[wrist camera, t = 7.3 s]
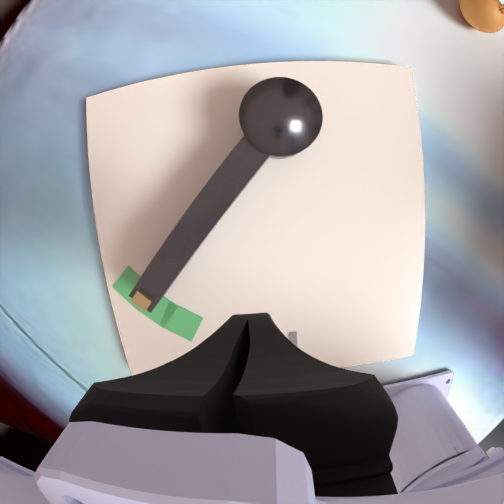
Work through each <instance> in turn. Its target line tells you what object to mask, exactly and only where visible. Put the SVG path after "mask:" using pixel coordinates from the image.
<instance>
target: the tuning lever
mask: <svg viewBox="0 0 504 504" xmlns="http://www.w3.org/2000/svg"><path fill="white" fill-rule="evenodd" d="M322 121H323V114H322V108H321V105H320V102H319V100H318V98H317V97H316V95H315V94H314V93H313V92H312V90H311V89H310V88H308V87H307V86H306V85H304V84H303V83H301V82H299V81H297V80H294V79H291V78H287V77H272V78H268V79H265V80H262V81H260V82H258V83H256V84H255V85H254V86H252V87H251V88H250V89H249V90H248V91H247V93H246V94H245V95H244V97H243V99H242V101H241V104H240V108H239V122H240V126H241V129H242V131H243V134H244V136H243V137H242V138H241V140H240V141H239V142H238V143H237V145H236V146H235V147H234V148H233V150H232V151H231V152H230V153H229V155H228V156H227V157H226V158H225V160H224V161H223V162H222V164H221V165H220V166H219V167H218V169H217V170H216V171H215V173H214V174H213V175H212V177H211V178H210V179H209V181H208V182H207V183H206V185H205V186H204V187H203V189H202V190H201V191H200V193H199V194H198V195H197V197H196V198H195V199H194V201H193V202H192V203H191V205H190V206H189V208H188V209H187V210H186V212H185V213H184V214H183V216H182V217H181V219H180V220H179V221H178V223H177V224H176V226H175V227H174V229H173V230H172V231H171V233H170V234H169V236H168V237H167V239H166V240H165V241H164V243H163V244H162V246H161V247H160V249H159V250H158V252H157V253H156V255H155V256H154V258H153V259H152V261H151V262H150V264H149V265H148V267H147V268H146V270H145V271H144V273H143V274H142V276H141V277H140V279H139V280H138V282H137V283H136V285H135V286H134V288H133V290H132V291H131V293H130V294H129V296H130V297H131V298H132V300H131V302H133V303H134V304H135V305H136V306H138V307H139V308H140V309H142V310H143V311H144V312H145V311H146V310H147V311H149V312H150V313H151V312H152V311H153V310H154V308H155V307H156V306H157V304H158V303H159V302H160V301H161V299H162V298H163V297H164V295H165V294H166V292H167V291H168V290H169V288H170V287H171V286H172V284H173V283H174V281H175V280H176V279H177V277H178V276H179V275H180V273H181V272H182V270H183V269H184V268H185V266H186V265H187V264H188V262H189V261H190V260H191V258H192V257H193V256H194V254H195V253H196V251H197V250H198V249H199V247H200V246H201V245H202V243H203V242H204V241H205V239H206V238H207V237H208V236H209V234H210V233H211V232H212V230H213V229H214V228H215V226H216V225H217V224H218V222H219V221H220V220H221V218H222V217H223V216H224V215H225V213H226V212H227V211H228V209H229V208H230V207H231V205H232V204H233V203H234V202H235V200H236V199H237V198H238V196H239V195H240V194H241V193H242V191H243V190H244V189H245V188H246V186H247V185H248V184H249V183H250V181H251V180H252V179H253V177H254V176H255V175H256V174H257V172H258V171H259V170H260V169H261V167H262V166H263V165H264V164H265V163H266V161H267V160H268V159H269V158H272V159H285V158H290V157H292V156H295V155H297V154H298V153H300V152H301V151H303V150H304V149H306V148H307V147H309V146H310V145H311V144H312V143H313V142H314V141H315V139H316V138H317V136H318V134H319V133H320V130H321V127H322Z"/></svg>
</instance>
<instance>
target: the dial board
mask: <svg viewBox="0 0 504 504" xmlns="http://www.w3.org/2000/svg"><path fill="white" fill-rule="evenodd" d="M272 77H287V78H291V79H294V80H297V81H299V82H301V83H303V84H304V85H306V86H307V87H308V88H310V89H311V90H312V92H313V93H314V94H315V95H316V97H317V98H318V100H319V102H320V105H321V108H322V114H323V121H322V127H321V130H320V133H319V134H318V136H317V138H316V139H315V141H314V142H313V143H312V144H311V145H310V146H309V147H307V148H306V149H304V150H303V151H301V152H300V153H298V154H297V155H295V156H292V157H290V158H285V159H272V158H269V159H268V160H267V161H266V163H265V164H264V165H263V166H262V167H261V169H260V170H259V171H258V172H257V174H256V175H255V176H254V177H253V179H252V180H251V181H250V183H249V184H248V185H247V186H246V188H245V189H244V190H243V191H242V193H241V194H240V195H239V196H238V198H237V199H236V200H235V202H234V203H233V204H232V205H231V207H230V208H229V209H228V211H227V212H226V213H225V215H224V216H223V217H222V218H221V220H220V221H219V222H218V224H217V225H216V226H215V228H214V229H213V230H212V232H211V233H210V234H209V236H208V237H207V238H206V239H205V241H204V242H203V243H202V245H201V246H200V247H199V249H198V250H197V251H196V253H195V254H194V256H193V257H192V258H191V260H190V261H189V262H188V264H187V265H186V266H185V268H184V269H183V270H182V272H181V273H180V275H179V276H178V277H177V279H176V280H175V281H174V283H173V284H172V286H171V287H170V288H169V290H168V291H167V292H166V294H165V295H164V297H163V298H162V299H161V301H160V302H159V303H158V304H157V306H156V307H155V308H154V310H153V311H152V312H151V313H150V312H149V311H147V310H146V311H145V312H144V311H143V310H142V309H140V308H139V307H138V306H136V305H135V304H134V303H133V302H131V300H132V298H131V297H130V296H129V294H130V293H131V291H132V290H133V288H134V286H135V285H136V283H137V282H138V280H139V279H140V277H141V276H142V274H143V273H144V271H145V270H146V268H147V267H148V265H149V264H150V262H151V261H152V259H153V258H154V256H155V255H156V253H157V252H158V250H159V249H160V247H161V246H162V244H163V243H164V241H165V240H166V239H167V237H168V236H169V234H170V233H171V231H172V230H173V229H174V227H175V226H176V224H177V223H178V221H179V220H180V219H181V217H182V216H183V214H184V213H185V212H186V210H187V209H188V208H189V206H190V205H191V203H192V202H193V201H194V199H195V198H196V197H197V195H198V194H199V193H200V191H201V190H202V189H203V187H204V186H205V185H206V183H207V182H208V181H209V179H210V178H211V177H212V175H213V174H214V173H215V171H216V170H217V169H218V167H219V166H220V165H221V164H222V162H223V161H224V160H225V158H226V157H227V156H228V155H229V153H230V152H231V151H232V150H233V148H234V147H235V146H236V145H237V143H238V142H239V141H240V140H241V138H242V137H243V136H244V134H243V131H242V129H241V126H240V122H239V108H240V104H241V101H242V99H243V97H244V95H245V94H246V93H247V91H248V90H249V89H250V88H251V87H252V86H254V85H255V84H256V83H258V82H260V81H262V80H265V79H268V78H272ZM86 117H87V142H88V158H89V170H90V181H91V190H92V199H93V207H94V214H95V221H96V228H97V234H98V240H99V246H100V252H101V257H102V262H103V267H104V272H105V277H106V282H107V287H108V291H109V295H110V300H111V304H112V308H113V312H114V316H115V320H116V324H117V327H118V331H119V335H120V338H121V342H122V345H123V349H124V352H125V355H126V358H127V362H128V365H129V368H130V371H131V374H132V376H133V375H136V374H140V373H143V372H146V371H149V370H152V369H154V368H157V367H159V366H161V365H164V364H166V363H168V362H170V361H173V360H175V359H177V358H178V357H180V356H182V355H184V354H185V353H187V352H189V351H190V350H192V349H193V348H195V347H196V346H198V345H199V344H200V343H202V342H203V341H204V340H205V339H207V338H208V337H209V336H211V335H212V334H213V333H214V332H215V331H216V330H217V329H218V328H220V327H221V326H222V325H223V324H224V323H225V322H226V321H227V320H228V319H229V318H230V317H231V316H232V315H236V314H252V313H268V314H270V316H271V318H272V320H273V322H274V323H275V324H276V326H277V327H278V328H279V330H280V331H281V332H282V333H283V334H284V335H285V336H286V337H287V338H288V339H289V340H290V341H291V342H292V343H293V344H294V345H295V346H297V347H298V348H299V349H301V350H302V351H304V352H305V353H307V354H309V355H310V356H312V357H314V358H316V359H318V360H320V361H322V362H325V363H327V364H330V365H332V366H336V367H339V368H344V367H351V366H358V365H364V364H371V363H377V362H382V361H388V360H393V359H399V358H404V357H409V356H413V354H414V349H415V342H416V336H417V329H418V321H419V313H420V304H421V295H422V283H423V269H424V250H425V186H424V167H423V153H422V142H421V133H420V124H419V116H418V109H417V102H416V96H415V90H414V84H413V78H412V73H411V68H410V67H405V66H397V65H388V64H377V63H363V62H344V61H290V62H270V63H256V64H245V65H235V66H227V67H219V68H212V69H205V70H199V71H192V72H187V73H181V74H176V75H171V76H166V77H161V78H157V79H152V80H148V81H143V82H139V83H135V84H131V85H128V86H124V87H120V88H117V89H113V90H110V91H106V92H103V93H100V94H96V95H93V96H90V97H87V98H86Z"/></svg>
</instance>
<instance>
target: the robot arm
mask: <svg viewBox="0 0 504 504" xmlns="http://www.w3.org/2000/svg"><path fill="white" fill-rule="evenodd" d="M453 376H454V373H453V372H452V371H451V370H448V371H444V372H440V373H437V374H433V375H429V376H425V377H421V378H417V379H412V380H408V381H403V382H399V383H394V384H389V385H384V386H382V385H381V384H380V382H379V381H378V380H377V378H376V377H375V376H374V375H371V374H365V373H360V372H354V371H349V370H345V369H342V368H339V367H336V366H332V365H330V364H327V363H325V362H322V361H320V360H318V359H316V358H314V357H312V356H310V355H309V354H307V353H305V352H304V351H302V350H301V349H299V348H298V347H297V346H295V345H294V344H293V343H292V342H291V341H290V340H289V339H288V338H287V337H286V336H285V335H284V334H283V333H282V332H281V331H280V330H279V328H278V327H277V326H276V324H275V323H274V322H273V320H272V318H271V316H270V314H268V313H252V314H236V315H232V316H231V317H230V318H229V319H228V320H227V321H226V322H225V323H224V324H223V325H222V326H221V327H220V328H218V329H217V330H216V331H215V332H214V333H213V334H212V335H211V336H209V337H208V338H207V339H205V340H204V341H203V342H202V343H200V344H199V345H198V346H196V347H195V348H193V349H192V350H190V351H189V352H187V353H185V354H184V355H182V356H180V357H178V358H177V359H175V360H173V361H170V362H168V363H166V364H164V365H161V366H159V367H157V368H154V369H152V370H149V371H146V372H143V373H140V374H136V375H133V376H129V377H125V378H120V379H115V380H109V381H103V382H96V383H93V385H92V386H91V387H90V389H89V390H88V391H87V392H86V394H85V395H84V396H83V398H82V399H81V401H80V402H79V403H78V405H77V406H76V407H75V409H74V410H73V411H72V413H71V416H70V419H69V424H68V425H67V427H66V428H65V429H64V431H63V432H62V434H61V435H60V436H59V438H58V439H57V441H56V442H55V444H54V445H53V447H52V448H51V449H50V451H49V452H48V454H47V455H46V457H45V458H44V460H43V461H42V463H41V464H40V466H39V467H38V469H37V471H36V472H33V471H31V470H29V469H27V468H24V467H22V466H20V465H18V464H16V463H13V462H11V461H9V460H7V459H5V458H3V457H1V456H0V504H504V449H503V448H496V449H495V448H494V447H492V448H491V449H489V450H488V451H487V454H488V456H489V457H490V459H488V457H487V456H486V454H485V453H484V452H483V451H482V449H481V448H480V447H479V445H477V443H476V442H475V440H474V439H473V437H472V436H471V434H470V433H469V431H468V430H467V428H466V427H465V425H464V424H463V422H462V421H461V419H460V418H459V416H458V415H457V414H456V412H455V411H454V409H453V408H452V406H451V405H450V404H449V402H448V401H447V396H448V393H449V390H450V386H451V383H452V379H453Z"/></svg>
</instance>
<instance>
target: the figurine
mask: <svg viewBox="0 0 504 504" xmlns="http://www.w3.org/2000/svg"><path fill="white" fill-rule="evenodd" d="M460 9H461V12H462V14H463V16H464V18H465V19H466V21H467V22H468V23H469V24H470V25H471V26H473V27H474V28H475V29H477V30H479V31H482V32H485V33H494V32H497V31H499V30H500V29H501V28H502V27H503V26H504V4H503V5H502V4H501V3H500V1H499V0H460Z"/></svg>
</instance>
